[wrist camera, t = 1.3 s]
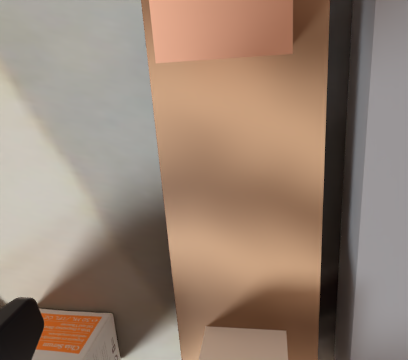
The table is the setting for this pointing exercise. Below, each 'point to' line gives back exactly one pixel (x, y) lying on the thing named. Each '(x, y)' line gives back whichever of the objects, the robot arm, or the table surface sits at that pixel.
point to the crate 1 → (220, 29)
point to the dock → (375, 188)
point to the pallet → (245, 184)
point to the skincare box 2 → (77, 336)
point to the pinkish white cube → (243, 344)
